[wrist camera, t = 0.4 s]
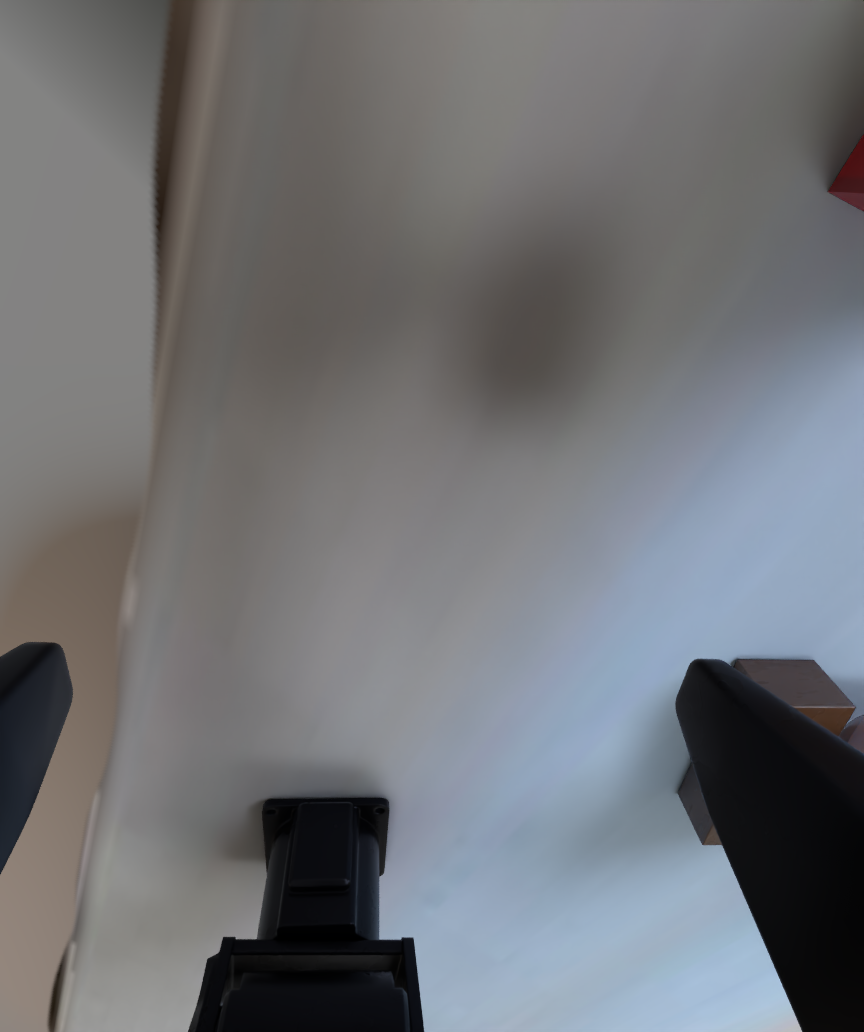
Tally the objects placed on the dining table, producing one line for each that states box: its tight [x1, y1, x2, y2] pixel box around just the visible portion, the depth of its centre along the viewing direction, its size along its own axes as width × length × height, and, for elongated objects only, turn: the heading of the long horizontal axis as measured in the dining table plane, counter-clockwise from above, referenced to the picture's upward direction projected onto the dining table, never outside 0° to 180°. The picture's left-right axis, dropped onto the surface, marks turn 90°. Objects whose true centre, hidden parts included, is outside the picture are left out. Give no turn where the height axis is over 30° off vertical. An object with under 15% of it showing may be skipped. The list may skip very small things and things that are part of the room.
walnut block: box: [678, 659, 856, 845], centre depth 30 cm, size 10×4×3 cm, turn 175°
